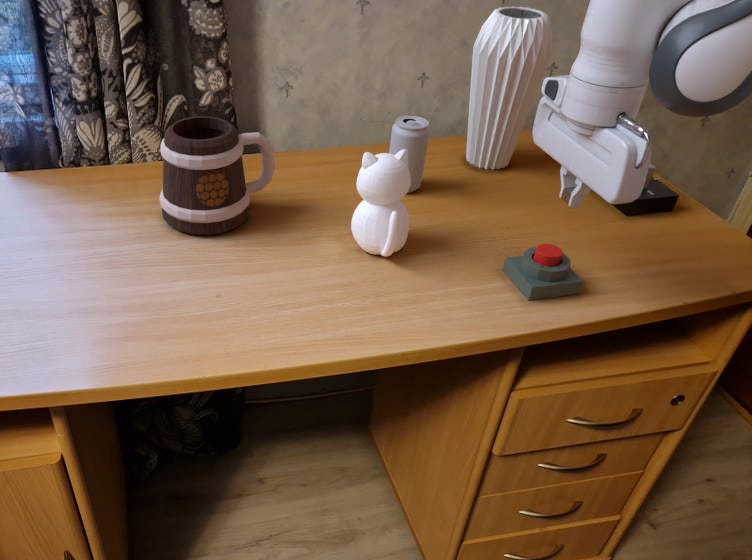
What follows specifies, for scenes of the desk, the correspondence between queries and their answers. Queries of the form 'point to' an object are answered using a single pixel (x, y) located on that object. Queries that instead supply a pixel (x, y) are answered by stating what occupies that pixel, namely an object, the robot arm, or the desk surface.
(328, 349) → the desk surface
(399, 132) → the beverage can
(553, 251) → the button
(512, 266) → the button block
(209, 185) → the mug
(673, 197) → the block
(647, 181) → the tap handle
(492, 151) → the vase
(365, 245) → the cat figurine
